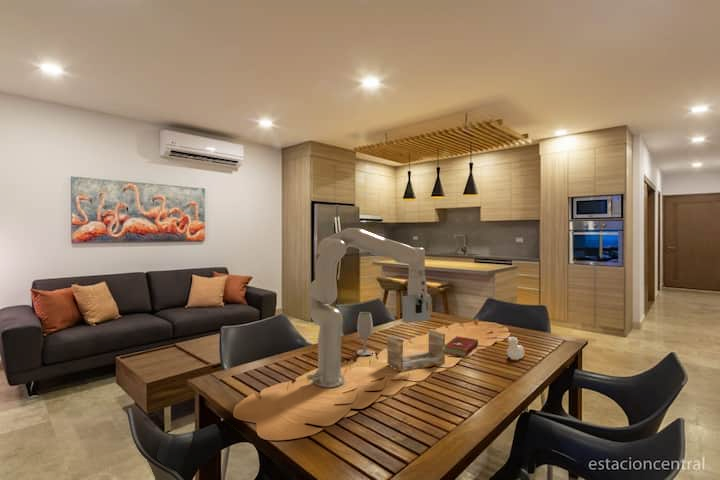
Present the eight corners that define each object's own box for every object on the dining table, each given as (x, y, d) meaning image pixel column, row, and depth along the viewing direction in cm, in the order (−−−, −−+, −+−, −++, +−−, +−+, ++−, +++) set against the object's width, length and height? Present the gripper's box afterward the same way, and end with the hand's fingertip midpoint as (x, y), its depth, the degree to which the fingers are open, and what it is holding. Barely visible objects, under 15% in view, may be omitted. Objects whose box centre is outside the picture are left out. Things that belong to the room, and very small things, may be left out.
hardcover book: (478, 346, 207) (478, 339, 206) (466, 357, 189) (466, 349, 189) (456, 343, 213) (456, 335, 213) (443, 353, 196) (443, 345, 196)
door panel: (406, 323, 173) (406, 297, 173) (402, 321, 177) (402, 296, 176) (430, 319, 180) (430, 295, 179) (426, 318, 183) (426, 293, 183)
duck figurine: (521, 359, 191) (509, 339, 196) (532, 353, 186) (520, 332, 191) (507, 364, 184) (495, 342, 190) (518, 358, 179) (505, 336, 185)
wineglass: (373, 356, 189) (373, 315, 188) (356, 356, 189) (356, 315, 188) (373, 351, 197) (373, 311, 197) (356, 350, 198) (356, 311, 197)
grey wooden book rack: (399, 371, 168) (399, 341, 168) (387, 364, 177) (387, 335, 177) (444, 362, 180) (444, 333, 180) (431, 356, 189) (431, 328, 189)
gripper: (433, 274, 172) (433, 314, 172) (413, 271, 187) (413, 308, 187) (420, 275, 169) (420, 316, 169) (400, 272, 183) (400, 309, 184)
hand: (416, 311), depth 178 cm, fingers closed on door panel, 3 cm apart
